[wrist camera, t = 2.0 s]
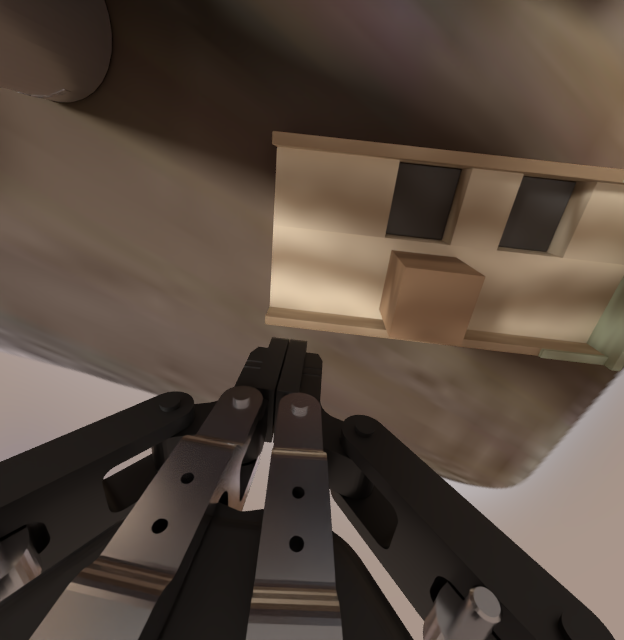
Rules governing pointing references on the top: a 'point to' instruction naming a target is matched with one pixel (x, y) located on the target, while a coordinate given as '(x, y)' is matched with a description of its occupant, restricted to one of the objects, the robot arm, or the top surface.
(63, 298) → the top surface
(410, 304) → the walnut block
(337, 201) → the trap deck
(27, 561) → the robot arm
